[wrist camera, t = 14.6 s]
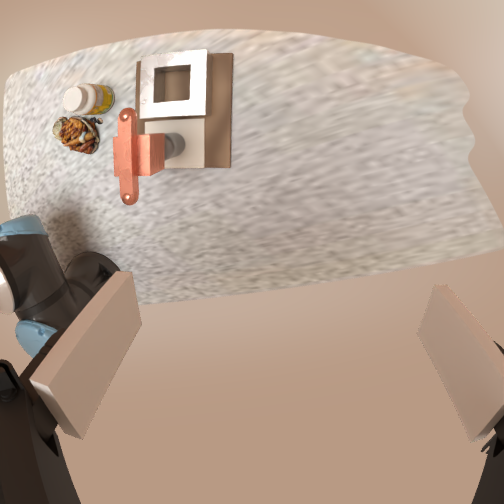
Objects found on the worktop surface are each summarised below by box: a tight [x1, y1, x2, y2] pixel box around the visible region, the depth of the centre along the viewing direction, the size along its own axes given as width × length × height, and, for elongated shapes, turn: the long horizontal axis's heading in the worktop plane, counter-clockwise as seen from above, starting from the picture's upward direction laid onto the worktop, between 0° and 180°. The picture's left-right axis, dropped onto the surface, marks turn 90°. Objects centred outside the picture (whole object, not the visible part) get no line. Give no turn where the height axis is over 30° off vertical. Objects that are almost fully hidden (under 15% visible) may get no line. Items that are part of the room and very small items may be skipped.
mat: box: [145, 119, 205, 168], centre depth 45 cm, size 10×8×1 cm
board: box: [135, 53, 233, 168], centre depth 44 cm, size 16×19×1 cm
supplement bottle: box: [63, 83, 114, 115], centre depth 39 cm, size 5×5×10 cm
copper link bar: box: [113, 108, 185, 205], centre depth 37 cm, size 11×5×18 cm, turn 177°
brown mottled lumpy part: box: [53, 116, 103, 154], centre depth 44 cm, size 7×12×4 cm, turn 77°
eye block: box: [140, 49, 213, 119], centre depth 39 cm, size 10×10×5 cm
